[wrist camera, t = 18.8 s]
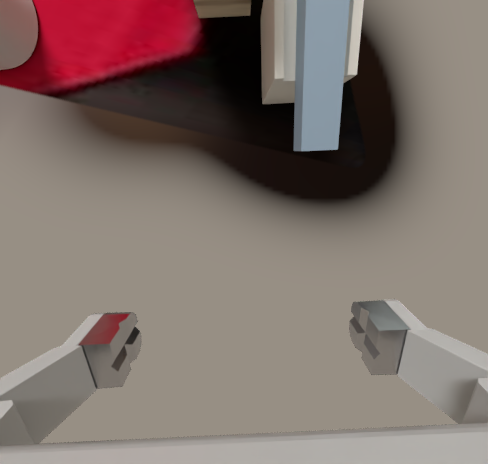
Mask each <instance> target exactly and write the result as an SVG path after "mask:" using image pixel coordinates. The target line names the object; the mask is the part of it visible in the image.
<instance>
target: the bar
mask: <svg viewBox="0 0 488 464" xmlns="http://www.w3.org/2000/svg"><path fill="white" fill-rule="evenodd" d="M349 4H350V0H297V20H296V66H295V111H294V151H318V150H338V142H339V129H340V117H341V104H342V92H343V79H344V67H345V54H346V42H347V29H348V16H349Z"/></svg>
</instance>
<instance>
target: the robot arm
mask: <svg viewBox="0 0 488 464" xmlns="http://www.w3.org/2000/svg"><path fill="white" fill-rule="evenodd" d="M37 38H38V21H37V15H36V11H35V8H34V5H33V2H32V0H0V70H3V69H11V68H15V67H17V66H20V65H21V64H23V63H24V62H25V61H27V60H28V59H29V57H30V56H31V54H32V53H33V51H34V49H35V46H36V43H37ZM351 312H352V313H353V315H354V317H353V318H352V319H351V320H350V325H349V330H350V336H351V339H352V342H353V344H354V346H355V347H356V348H357V349H358V350H360V351H361V352H362V360H363V361H364V363H365V365H366V366H367V368H368V370H369V372H370V373H371V375H394V374H398V376H399V377H400V378H401V379H402V380H403V381H405V382H406V383H407V384H408V385H410V386H411V387H412V388H414V389H415V390H416V391H417V392H419V393H420V394H421V395H422V396H424V397H425V398H426V399H428V400H429V401H430V402H431V403H433V404H434V405H435V406H437V407H438V408H439V409H441V410H442V411H443V412H444V413H445V414H447V415H448V416H449V417H450V418H452V419H453V420H454V421H456V422H457V423H458V424H450V425H428V426H407V427H384V428H365V429H364V428H363V429H342V430H321V431H301V432H282V433H281V432H279V433H258V434H237V435H215V436H193V437H172V438H150V439H129V440H110V441H109V440H107V441H86V442H67V443H66V442H64V443H44V444H39V443H40V442H41V441H42V440H43V439H44V438H45V437H46V436H48V434H50V433H51V432H52V431H53V430H54V429H55V428H56V427H57V426H58V425H59V424H60V423H62V422H63V421H64V420H65V419H66V418H67V417H68V416H69V415H70V414H71V413H72V412H74V411H75V410H76V409H77V408H78V407H79V406H80V405H81V404H82V403H83V402H84V401H85V400H87V399H88V398H89V397H90V396H91V395H92V394H93V393H94V392H95V391H96V389H100V388H112V387H122V386H123V384H124V382H125V380H126V378H127V376H128V374H129V372H130V370H131V367H130V363H131V362H132V361H133V360H135V359H136V358H137V356H138V354H139V352H140V347H141V333H140V331H139V330H138V329H137V328H136V327H135V325H136V323H137V322H138V321H137V317H136V314H135V313H133V312H125V313H95V314H91V315H89V316H88V317H87V318H86V320H85V321H84V322H83V323H82V324H81V325H80V326H79V327H78V328H77V329H76V331H75V332H74V333H73V334H72V335H71V336H70V337H69V338H68V339H67V340H66V341H65V343H64V344H63V345H62V346H61V347H55V348H53V349H51V350H50V351H48V352H46V353H44V354H43V355H41V356H39V357H37V358H35V359H34V360H32V361H30V362H28V363H26V364H25V365H23V366H21V367H19V368H17V369H16V370H14V371H12V372H10V373H9V374H7V375H5V376H3V377H2V378H0V464H488V354H487V353H485V352H483V351H480V350H478V349H476V348H474V347H472V346H469V345H467V344H465V343H463V342H460V341H458V340H456V339H454V338H452V337H450V336H447V335H445V334H443V333H441V332H439V331H436V330H434V329H428V328H427V327H425V325H423V324H422V323H421V322H420V321H419V320H418V319H417V318H416V317H415V316H414V315H413V314H412V313H411V312H410V311H409V310H408V309H407V308H406V307H405V306H403V305H402V303H401V302H399V301H398V300H396V299H387V300H379V301H360V302H353V304H352V308H351Z"/></svg>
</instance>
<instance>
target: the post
mask: <svg viewBox="0 0 488 464" xmlns="http://www.w3.org/2000/svg"><path fill="white" fill-rule="evenodd" d="M193 1H194V4H195V7H196V10H197V13H198V17H199V18H212V17H232V16H250V10H251V0H193Z"/></svg>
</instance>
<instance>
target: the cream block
mask: <svg viewBox="0 0 488 464" xmlns="http://www.w3.org/2000/svg"><path fill="white" fill-rule="evenodd" d="M363 3H364V0H350V4H349V16H348V29H347V42H346V54H345V67H344V79H343V83H344V82H346V81H348V80H349V79H351V78H352V77H354V76H355V75H357V67H358V56H359V45H360V35H361V24H362V14H363ZM296 20H297V0H263V6H262V13H261V68H262V104H277V103H295V66H296Z"/></svg>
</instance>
